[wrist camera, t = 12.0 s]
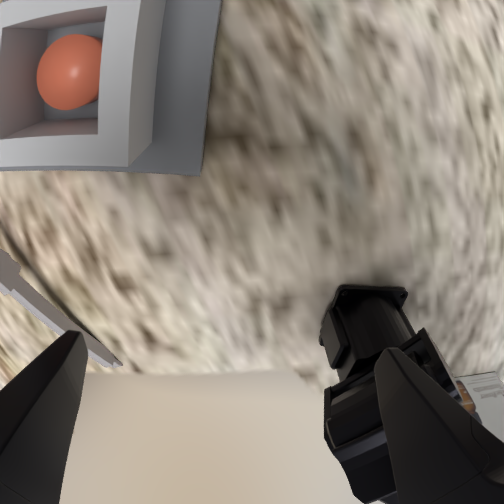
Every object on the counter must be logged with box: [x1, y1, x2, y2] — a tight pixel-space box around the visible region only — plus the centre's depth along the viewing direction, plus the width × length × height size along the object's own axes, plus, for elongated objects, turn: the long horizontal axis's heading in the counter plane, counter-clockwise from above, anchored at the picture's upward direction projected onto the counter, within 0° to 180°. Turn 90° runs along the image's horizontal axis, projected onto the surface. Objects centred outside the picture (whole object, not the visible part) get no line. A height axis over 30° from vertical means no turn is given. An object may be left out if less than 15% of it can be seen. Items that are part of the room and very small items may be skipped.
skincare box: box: [454, 372, 504, 442], centre depth 29 cm, size 21×5×16 cm, turn 78°
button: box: [37, 34, 103, 110], centre depth 13 cm, size 4×4×2 cm
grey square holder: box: [0, 0, 222, 176], centre depth 12 cm, size 14×12×6 cm
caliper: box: [0, 249, 123, 368], centre depth 21 cm, size 20×1×6 cm, turn 24°
